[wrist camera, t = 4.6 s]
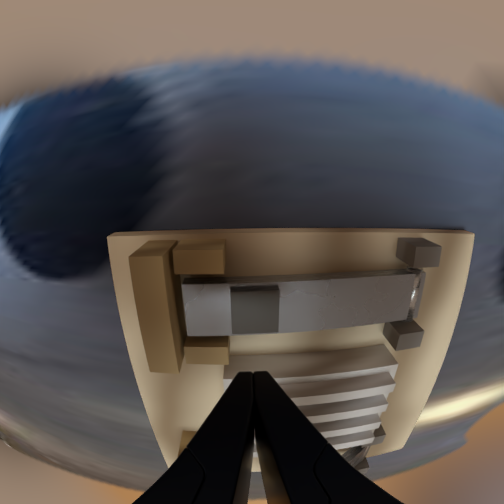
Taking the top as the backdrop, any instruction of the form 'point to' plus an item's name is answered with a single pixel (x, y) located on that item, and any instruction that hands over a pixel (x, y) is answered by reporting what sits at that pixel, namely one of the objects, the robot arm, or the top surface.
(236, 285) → the strap
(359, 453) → the strap
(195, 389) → the heatsink board
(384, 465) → the top surface
